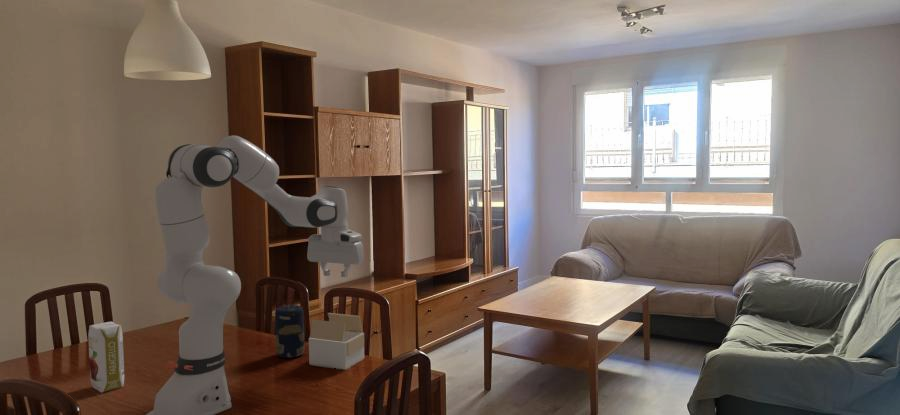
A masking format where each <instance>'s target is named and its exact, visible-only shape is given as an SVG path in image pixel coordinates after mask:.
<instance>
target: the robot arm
mask: <svg viewBox="0 0 900 415" xmlns="http://www.w3.org/2000/svg"><path fill="white" fill-rule="evenodd" d="M165 174H166V178H164V179H163V180H161V181H159V182H158V184H157V185H156V187H155V189H154V190H155V193H154V194H155V195H154V197H155V205H156V213H157V217H158V222H159V226H160V229H161V233H162V237H163V238H162V239H163V241H164V246H165V253H166V254H165V255H166V256H165V266H164V268H163V269H162V270H161V272H160V273H159V275H158V277H157V288H158V291H159V293H160V295H162V296H163V297H165V298H167V299H169V300H171V301H173V302H176V303H180V304H181V303H183V304H188V305H190V313H189V316H188V318H187V320H186V321H184V322H182V324H181V325H180V326H179V329H178V341H179V342H178V343H179V344H178V345H179V355H178V357H177V359H176V361H172V360H170V361H168V362H167V364H166V368H167V369H168V370H174V372H173V374H172V375H171V377H169V379H168V380H167V381H166V382H165V384H164V385H163V386H162V387H161V388H160V390H159V391H157V393H156V395H155V398H154V402H153V403H154V404H153V409H152V410H151V411H149V412H148V413H146V414H145V415H217V414H219V413H221V412H224V411H226V410H229V409H231V408H232V406H233V405H232V402H231V400H232V397H231V395H230V392H229V387H228V381H227V376H226V372H225V371H226V370H225V365H226V354H225V353H226V352H225V350H224V344H223V341H224V340H223V339H224V338H223V337H224V335H223V334H224V323H225V322H224V320H225V317H226V315H227V312H228V309H229V308H230V307H231V306H232V304H233V303H235V302H236V301H237V299H238V298H239V296H240V294H241V291H242V290H241V289H242V282H241V279H240V277H239V275H238V273H237V272H235V271H234V270H230V269H228V268H226V267H223V266H218V265H210V264H209V265H208V264H205V263H204V260H203V258H204V257H203V253H204V250H205V249H206V248H207V247H208V245H209V244H210V241H211V237H210V232H209V227H208V224H207V220H206V215H205V210H204V208H203V204H202V191H203V189H204V188H205V187H207V188H218V187H222V186H224V185H226V184H227V183H229V182H230V181H231V180H232V179H233V178H234V179H235V180H237V181H238V182H239V183H240V184H242V185H244V186H245V187H247V188H248V189H250V190H251V191H253V192H254V193H255V194H256V195H257V196H258V197H260V198H261V199H262V200H263V201H264V202H265V203H267V204H268V205H269V206H270V207H272V208H273V209H274V210H275V211H276V212H277V214H278V215H279V217H280V219H281V220H282V222H283V223H284V224H285V225H286V226H288V227H291V228H295V227H296V228H297V227H299V228H300V227H304V228H314V229H315V228H320V233H319V234H316V233H313V234H311V235H309V237H308V238H307V239H308V241H307V243H308V245H307V252H306V254H307V255H306V256H307V257H306V258H307V260H308V261H309V262H313V263H319V266H320V268H321V269H322V272H323V276H324V277H325V276H327V277H328V276H330V275H331V270H330V269H328V267H327V265H328V264H343V267H344V269H343V271H340V274H341V278H347V277H348V276H349V275H348V274H349V271H350V268H351V266H352V265H361V264H363V262H364V261H365V251H364V245H363V242H362V239H363V236H362V234H361V233H360V232H357V231H354V230H352V229H350V228H349V224H348V221H347V220H348V218H347V217H348V214H349V211H348V209H349V205H348V196H347V193H346V190H345V189H344V188H342V187H339V186H331V185H326V186H323V187H322V188H321V190H319V192H317V193H315V194H313V195H311V196H310V197H309V196H308V197H307V196H296V195H291V194H289V193H287V192H286V191H285V190H284V189H283V188H282V187H280V186H279V184H277V182H278V180H279V177H280V167H279V165H278V164H277V161H275V159H274V158H272V157H271V156H270V155H269V153H267V152H265V151H264V150H263V149H261V148H260V147H259V146H257V145H255V144H253V142H251V141H249V140H247V139H245V138H243V137H241V136H239V135H229V136H227V137H225V138H223V139H222V140H220V142H219V143H218V145H217V146H211V145H206V144H202V143H201V144H200V143H199V144H183V145H179V146H178V147H176V148H174V150H173V151H171V154H170V155H169V158H168V162H167V168H166V173H165Z"/></svg>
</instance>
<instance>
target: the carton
mask: <svg viewBox="0 0 900 415" xmlns="http://www.w3.org/2000/svg"><path fill="white" fill-rule="evenodd" d="M363 360H365V332H359V331H350V330H345V332H344V338H343V342H339V341H331V340H323V339H315V338H310V337H308V363H309V364H308V366H315V367H323V368H330V369H334V368H336V369H335V370H341V369H342V370H341V371H347V370H349V369H350V368H351V366H352V367H353V366H355V365H356V364H358V363H359V362H361V361H363Z"/></svg>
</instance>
